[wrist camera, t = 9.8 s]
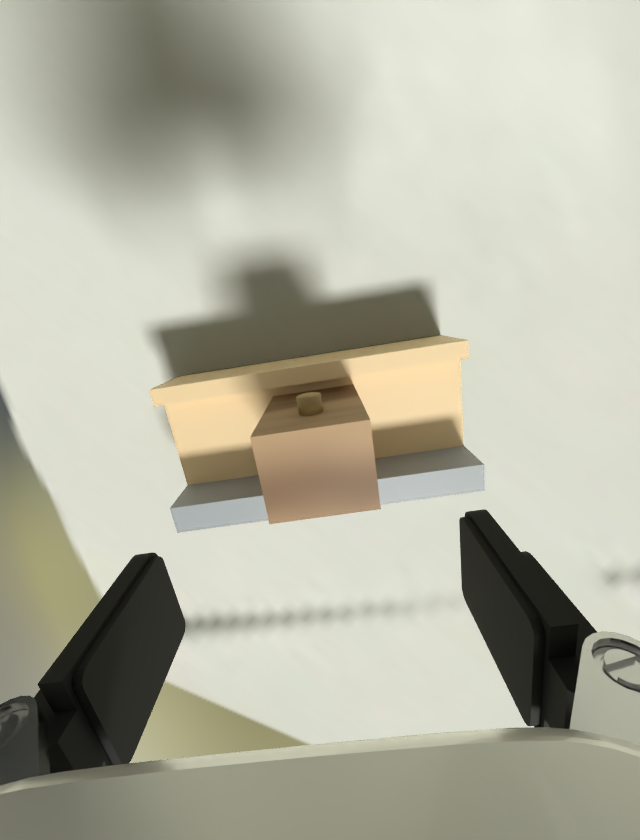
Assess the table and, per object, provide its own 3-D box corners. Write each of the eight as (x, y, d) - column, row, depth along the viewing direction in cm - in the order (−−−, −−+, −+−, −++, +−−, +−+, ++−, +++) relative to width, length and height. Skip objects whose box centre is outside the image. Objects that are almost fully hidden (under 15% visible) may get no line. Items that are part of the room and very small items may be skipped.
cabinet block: (270, 383, 26) (245, 418, 17) (351, 370, 25) (368, 399, 17) (285, 457, 27) (269, 524, 19) (361, 446, 27) (380, 508, 19)
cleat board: (179, 376, 30) (134, 396, 22) (440, 335, 29) (481, 342, 21) (208, 484, 33) (177, 532, 25) (447, 450, 32) (484, 490, 24)
